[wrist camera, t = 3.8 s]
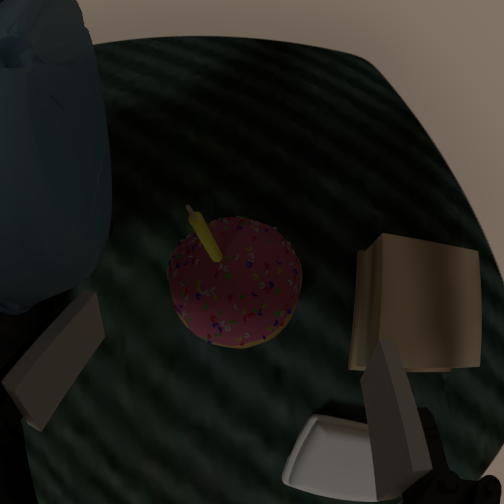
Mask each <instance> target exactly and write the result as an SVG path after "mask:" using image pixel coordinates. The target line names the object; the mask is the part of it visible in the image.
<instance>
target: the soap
mask: <svg viewBox="0 0 504 504" xmlns="http://www.w3.org/2000/svg"><path fill="white" fill-rule="evenodd" d="M296 440H297V441H296V443H295V445H294V447H293V450H292V452H291V454H290V455H289V457H288V459H287V462H286V465H285V468H284V471H283V474H282V481H283V483H284V484H286V485H289V486H291V487H294V488H297V489H300V490H303V491H306V492H310V493H313V494H317V495H321V496H326V497H330V498H336V499H343V500H351V501H365V502H378V501H377V497H376V486H375V477H374V468H373V459H372V452H371V444H370V437H369V430H368V424H364V423H360V422H356V421H352V420H347V419H342V418H337V417H332V416H326V415H320V414H313V415H311V416H310V417H309V418H308V420H307V421H306V423H305V425H304V426H303V428H302V430H301V432H300V433H299V435H298V437H297V439H296Z"/></svg>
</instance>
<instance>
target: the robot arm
mask: <svg viewBox="0 0 504 504" xmlns="http://www.w3.org/2000/svg"><path fill="white" fill-rule="evenodd" d="M111 214H112V174H111V160H110V148H109V138H108V129H107V121H106V114H105V107H104V100H103V94H102V89H101V83H100V77H99V72H98V67H97V62H96V57H95V53H94V48H93V44H92V40H91V37H90V34H89V31H88V29H87V28H86V27H84V21H83V16H82V12H81V9H80V7H79V5H78V3H77V1H76V0H0V504H38V501H37V497H36V494H35V490H34V486H33V482H32V478H31V473H30V469H29V464H28V458H27V453H26V447H25V441H24V434H23V427H22V423H21V421H20V420H21V419H22V417H24V419H25V420H26V422H27V423H28V424H29V425H30V426H32V427H34V428H36V429H37V430H39V431H41V432H42V430H43V429H44V427H45V425H46V424H47V422H48V421H49V419H50V417H51V416H52V414H53V413H54V411H55V409H56V408H57V406H58V405H59V403H60V402H61V400H62V399H63V397H64V396H65V394H66V393H67V391H68V390H69V388H70V387H71V385H72V384H73V382H74V381H75V379H76V378H77V376H78V375H79V373H80V372H81V370H82V369H83V367H84V366H85V365H86V363H87V362H88V360H89V359H90V357H91V356H92V355H93V353H94V352H95V350H96V349H97V347H98V346H99V345H100V343H101V342H102V340H103V339H104V338H105V332H104V328H103V323H102V319H101V314H100V309H99V304H98V299H97V293H95V292H91V291H87V290H83V291H82V292H81V293H80V294H79V295H78V296H77V297H76V298H75V299H74V300H73V301H72V302H71V303H70V304H69V305H68V307H67V308H66V309H65V310H64V311H63V312H62V313H61V314H60V315H59V316H58V317H57V318H56V319H55V320H54V321H53V322H52V302H51V297H52V296H55V295H57V294H59V293H62V292H64V291H67V290H69V289H72V288H73V287H75V286H77V285H78V284H80V283H81V282H82V281H84V280H85V279H86V278H87V277H88V276H89V275H90V274H91V273H92V272H93V271H94V269H95V268H96V266H97V265H98V263H99V261H100V260H101V258H102V255H103V253H104V250H105V247H106V244H107V241H108V237H109V231H110V224H111ZM360 382H361V387H362V393H363V399H364V405H365V411H366V417H367V423H368V430H369V437H370V444H371V452H372V459H373V468H374V477H375V486H376V497H377V501H382V500H390V499H395V498H397V497H398V496H399V495H401V494H402V496H403V500H402V501H401V502H399V503H398V504H500V497H501V484H500V482H499V480H498V479H497V478H496V477H495V476H493V475H486V476H484V477H482V478H481V479H480V480H478V481H472V480H463V479H460V478H459V476H458V475H457V474H456V473H455V472H454V471H450V470H449V467H448V464H447V461H446V457H445V453H444V449H443V446H442V442H441V439H440V438H439V436H440V435H439V432H438V429H437V425H436V422H435V419H434V416H433V415H432V414H431V412H430V411H429V410H428V408H427V407H425V408H417V407H416V404H415V400H414V397H413V394H412V391H411V387H410V384H409V381H408V378H407V375H406V372H405V369H404V366H403V363H402V360H401V357H400V354H399V352H398V349H397V346H396V343H395V340H384V339H379V342H378V344H377V346H376V348H375V350H374V353H373V355H372V357H371V359H370V361H369V363H368V365H367V367H366V370H365V372H364V374H363V376H362V378H361V380H360Z"/></svg>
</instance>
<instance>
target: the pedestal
mask: <svg viewBox="0 0 504 504" xmlns="http://www.w3.org/2000/svg"><path fill="white" fill-rule="evenodd" d="M481 327H482V307H481V281H480V266H479V255H478V251H475V250H470V249H465V248H460V247H455V246H450V245H445V244H440V243H435V242H430V241H424V240H419V239H414V238H408V237H403V236H397V235H391V234H385V233H382V234H381V235H380V236H379V237H378V238H377V239H376V240H375V241H374V243H373V244H372V245H371V246H370V247H369V248H368V249H367V250H366V251H363V250H359V251H358V252H357V271H356V289H355V304H354V317H353V328H352V338H351V348H350V356H349V365H348V370H364V371H365V370H366V367H367V365H368V363H369V361H370V359H371V357H372V355H373V353H374V350H375V348H376V346H377V344H378V342H379V339H384V340H395V343H396V346H397V349H398V352H399V354H400V357H401V360H402V363H403V366H404V369H405V372H449V371H451V368H462V367H479V366H480V354H481Z"/></svg>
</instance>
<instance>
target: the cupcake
mask: <svg viewBox="0 0 504 504" xmlns="http://www.w3.org/2000/svg"><path fill="white" fill-rule="evenodd" d="M185 207H186V209H187V210H188V212H189V214H190V215H189V217H188V220H189V223H190V224H191V226H192V228H193V229H194V232H192V233H191V234H190V235H186V236H185V238H184V239H183V240H181V241H180V242H181V243H180V244H178V247H177V248H176V249H175V252H174V253H171V254H170V258H172V259H171V261H169V269H168V270H167V276H168V281H169V285H170V290H171V295H172V299H173V303H174V308H175V310H176V311H177V313H178V315H179V317H180V319H181V320H182V322H183V323H184V324H185V325H186V326H187V327H188V328H189V329H191V330H192V332H193V333H194V334H195V335H196V336H198V337H200V338H201V339H203V340H205V341H207V342H208V343H211V344H214V345H219V346H223V347H230V348H248V347H251V346H254V345H257V344H260V343H263V342H266V341H268V340H270V339H272V338H273V337H275V336H276V335H277V334H278V333H280V331H281V330H282V329H283V328H284V327H285V326H286V325H287V324H288V322H289V321H290V319H291V317H292V315H293V313H294V311H295V308H296V305H297V301H298V298H299V294H300V290H301V285H302V267H301V263H300V261H299V259H298V257H297V255H296V254H295V250H294V249H292V247H291V246H290V245H291V243H290V242H289V241H286V240H285V239H284V238H283V236H282V235H281V234H280V233H279V232H278V231H277V228H276V227H273V228H272V227H271V226H269V225H267V224H264V223H263V222H259V221H255V220H252V219H248V218H245V217H240V216H238V215H237V217H227V218H218V219H216V220H213V221H211V222H209V223H207V224H206V222H205V220H204V218H203V216H202V215H201V213H200V212H193V210H192V208H191V207H190V206H189V205H188V204H187V205H186V206H185ZM274 228H275V229H276V230H275V229H274ZM171 255H173V256H171Z"/></svg>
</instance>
